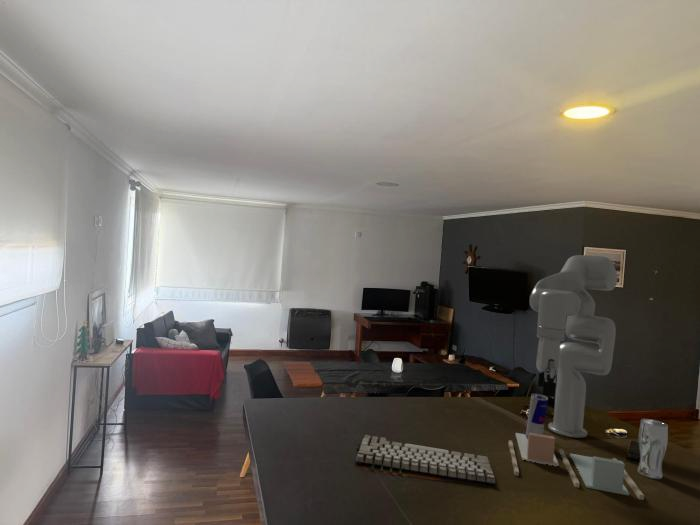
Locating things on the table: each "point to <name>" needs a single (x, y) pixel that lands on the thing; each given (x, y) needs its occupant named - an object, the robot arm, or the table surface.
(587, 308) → the robot arm
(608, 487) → the strip
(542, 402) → the beverage can
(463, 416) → the table surface
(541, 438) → the strip
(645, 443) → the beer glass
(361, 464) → the mechanical keyboard
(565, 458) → the lane frame
